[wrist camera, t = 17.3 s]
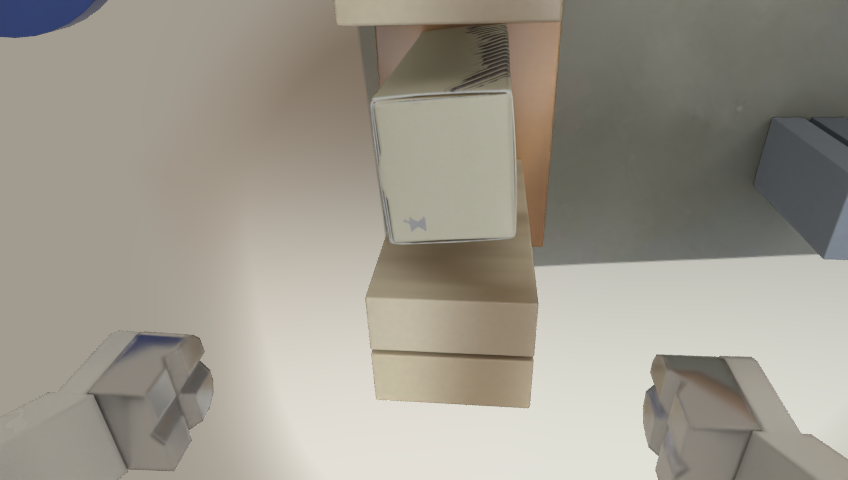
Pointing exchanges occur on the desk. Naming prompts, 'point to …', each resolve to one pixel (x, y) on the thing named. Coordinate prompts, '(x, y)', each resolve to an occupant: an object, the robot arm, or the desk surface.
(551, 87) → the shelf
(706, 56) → the desk surface
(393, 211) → the box
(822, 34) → the desk surface
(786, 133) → the grey books
